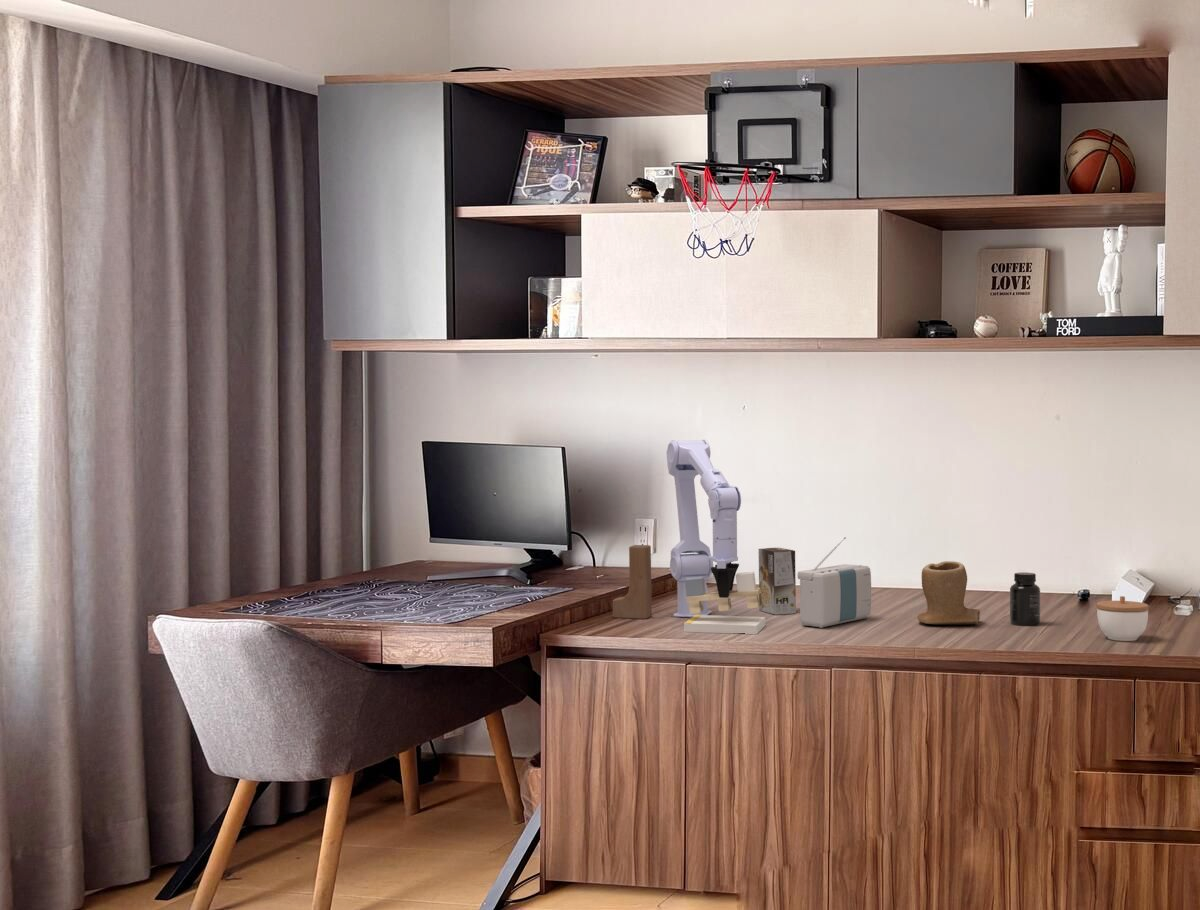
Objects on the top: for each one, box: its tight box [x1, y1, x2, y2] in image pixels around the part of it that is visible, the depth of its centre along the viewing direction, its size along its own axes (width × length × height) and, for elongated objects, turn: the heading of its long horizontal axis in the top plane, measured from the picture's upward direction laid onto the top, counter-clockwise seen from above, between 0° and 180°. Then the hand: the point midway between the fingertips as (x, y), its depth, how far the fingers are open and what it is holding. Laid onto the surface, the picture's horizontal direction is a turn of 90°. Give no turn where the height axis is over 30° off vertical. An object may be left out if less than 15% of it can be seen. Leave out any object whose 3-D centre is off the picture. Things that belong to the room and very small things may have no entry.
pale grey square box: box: [685, 576, 706, 597], centre depth 316 cm, size 4×4×4 cm
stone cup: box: [916, 560, 981, 626], centre depth 316 cm, size 15×12×15 cm
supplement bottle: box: [1009, 571, 1041, 627], centre depth 316 cm, size 7×7×12 cm
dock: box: [683, 614, 767, 635], centre depth 314 cm, size 13×17×2 cm
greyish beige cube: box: [735, 571, 757, 592], centre depth 314 cm, size 4×4×4 cm
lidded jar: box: [1096, 596, 1150, 642], centre depth 294 cm, size 11×11×9 cm
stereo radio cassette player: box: [797, 536, 872, 629], centre depth 321 cm, size 21×8×20 cm, turn 136°
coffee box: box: [758, 547, 797, 616], centre depth 339 cm, size 9×6×16 cm
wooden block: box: [612, 544, 652, 620], centre depth 333 cm, size 9×4×18 cm, turn 71°
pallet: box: [686, 587, 761, 614], centre depth 315 cm, size 5×17×4 cm, turn 78°
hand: (725, 595), depth 315 cm, fingers closed on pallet, 5 cm apart
